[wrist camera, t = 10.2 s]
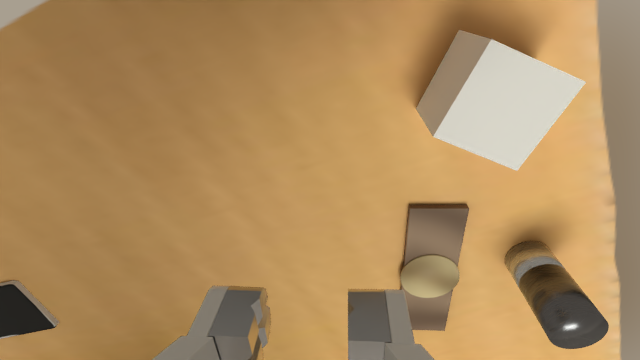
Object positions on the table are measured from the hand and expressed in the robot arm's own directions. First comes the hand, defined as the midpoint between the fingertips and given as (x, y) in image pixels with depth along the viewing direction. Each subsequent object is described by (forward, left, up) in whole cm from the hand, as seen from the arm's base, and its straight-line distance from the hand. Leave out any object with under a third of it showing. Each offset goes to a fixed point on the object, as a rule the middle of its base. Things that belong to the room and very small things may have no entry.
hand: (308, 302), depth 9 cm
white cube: (+1, -10, -19) cm, 22 cm away
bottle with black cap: (-15, -18, -19) cm, 30 cm away
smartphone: (-25, +43, -20) cm, 54 cm away
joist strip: (-17, -9, -19) cm, 27 cm away
